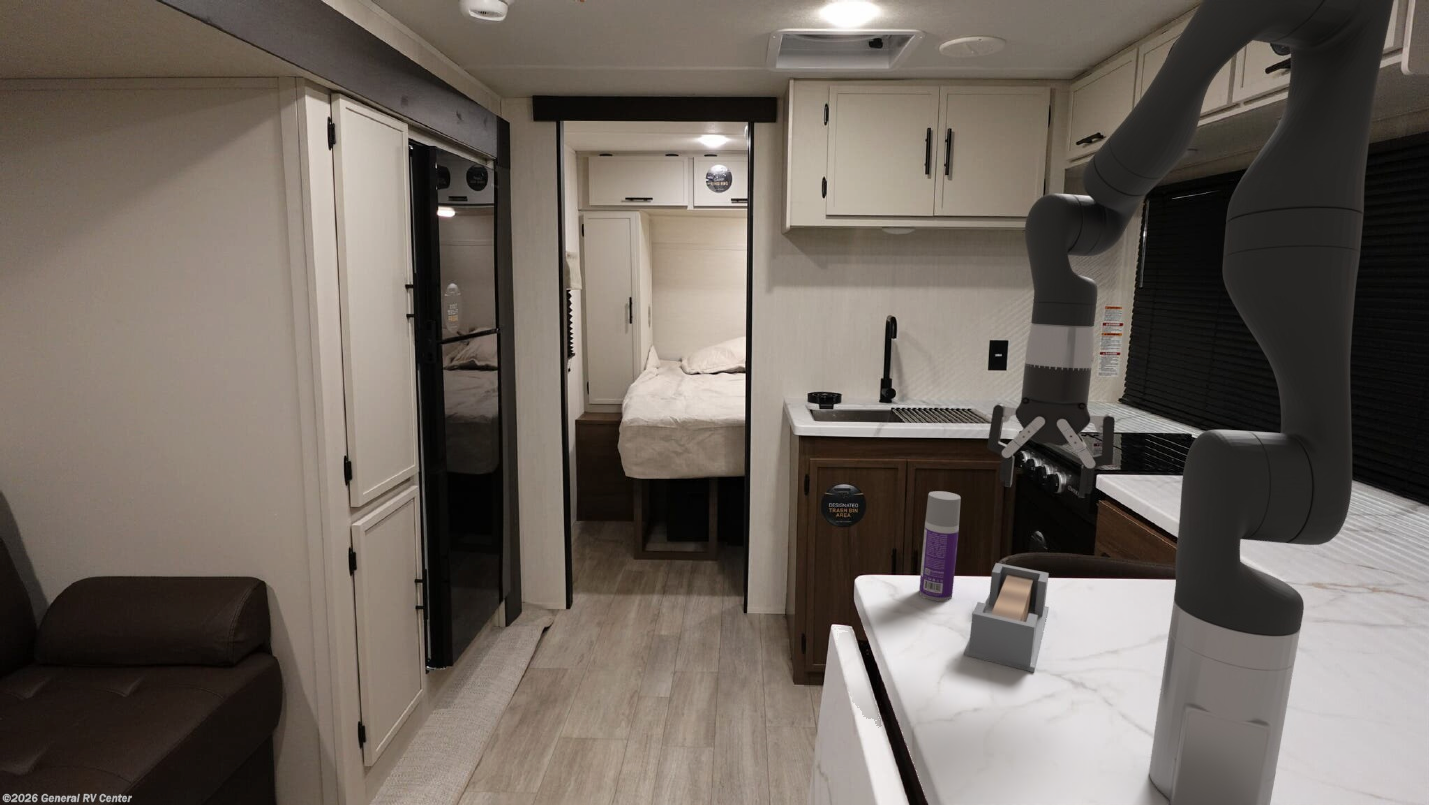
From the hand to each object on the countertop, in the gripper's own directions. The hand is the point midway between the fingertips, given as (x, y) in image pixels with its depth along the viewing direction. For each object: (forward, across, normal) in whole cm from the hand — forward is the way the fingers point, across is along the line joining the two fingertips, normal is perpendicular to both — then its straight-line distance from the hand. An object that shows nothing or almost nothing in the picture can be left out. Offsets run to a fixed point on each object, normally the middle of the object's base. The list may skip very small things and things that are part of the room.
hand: (1044, 491), depth 96 cm
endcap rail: (+20, -2, +1) cm, 20 cm away
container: (+20, -13, +8) cm, 25 cm away
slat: (+19, -2, +2) cm, 19 cm away
